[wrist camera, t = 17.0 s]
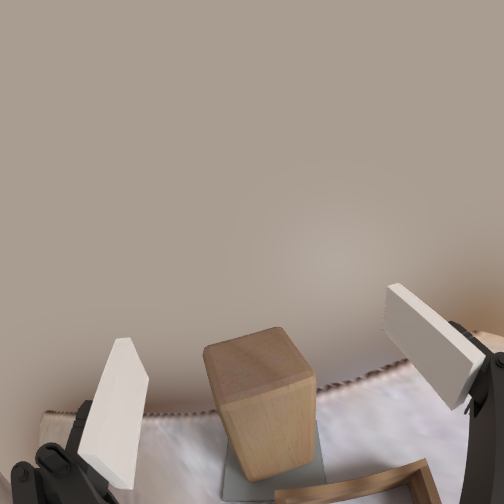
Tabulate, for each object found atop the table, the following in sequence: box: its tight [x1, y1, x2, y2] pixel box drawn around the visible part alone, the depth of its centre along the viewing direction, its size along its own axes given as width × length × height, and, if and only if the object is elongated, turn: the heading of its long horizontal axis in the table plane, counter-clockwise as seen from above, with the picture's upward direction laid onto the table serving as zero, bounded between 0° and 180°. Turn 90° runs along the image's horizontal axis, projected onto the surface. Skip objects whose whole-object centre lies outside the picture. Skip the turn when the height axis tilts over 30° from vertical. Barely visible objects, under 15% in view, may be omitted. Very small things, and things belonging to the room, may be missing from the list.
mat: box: [222, 420, 326, 502], centre depth 33 cm, size 14×14×1 cm
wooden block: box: [203, 327, 316, 482], centre depth 31 cm, size 10×10×20 cm
